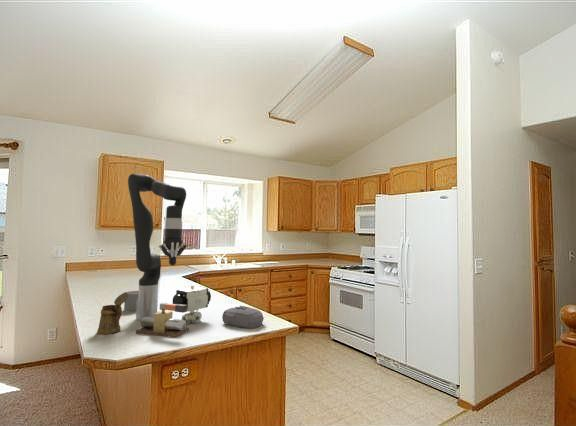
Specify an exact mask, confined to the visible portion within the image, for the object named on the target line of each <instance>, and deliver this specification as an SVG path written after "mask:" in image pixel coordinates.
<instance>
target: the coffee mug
mask: <svg viewBox="0 0 576 426" xmlns="http://www.w3.org/2000/svg"><path fill="white" fill-rule="evenodd" d="M125 292H126V293H127V294H128V297H127V299H126V300H125V302H123V304H124V305H123V307H124V308H123V312H127V313H128V312H129V313H134V312H135V313H136V303H137V300H138V296H139V290H129V291H125Z"/></svg>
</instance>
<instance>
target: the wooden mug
mask: <svg viewBox="0 0 576 426" xmlns="http://www.w3.org/2000/svg"><path fill="white" fill-rule="evenodd" d="M126 292H127V291H125V292H123V293H121V294H119V295H118V296H117V297H116V298H115V299H114V302H113V303H114V304H106V305H103V306H102V307H101V310H100V318H99V323H98V328H97V331H96V334H97V335H104V336H105V335H113V334H115V333H116V334H117V333H118V332H120V331H121V325H120V320H121V318H122V314H123V309H122V306H121V305H122V304H124V302H125V300H126V299H127V297H128V294H127V293H126Z"/></svg>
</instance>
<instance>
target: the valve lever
mask: <svg viewBox="0 0 576 426" xmlns="http://www.w3.org/2000/svg"><path fill="white" fill-rule="evenodd" d="M159 310H160V311H162V310H165V311H173V312H174V313H175V312H176V313H182V314H183V313H188V312H187V305H183V304H173V303H169V302H161V303H159Z"/></svg>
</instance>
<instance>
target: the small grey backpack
mask: <svg viewBox="0 0 576 426" xmlns="http://www.w3.org/2000/svg"><path fill="white" fill-rule="evenodd" d="M264 320H265V319H264V315H263V312H261V310H259V309H256V308H253V307H248V306H245V305H243V306H242V305H239V306H235V307H230V308H227V309H225V310H224V311H223V313H222V322H223V324H226V325H228V326H230V327H235V328H241V329H243V328H245V329H247V328H248V329H250V328H251V329H252V328H253V329H254V328H258V327H261V326H262V325H263V323H264Z"/></svg>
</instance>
